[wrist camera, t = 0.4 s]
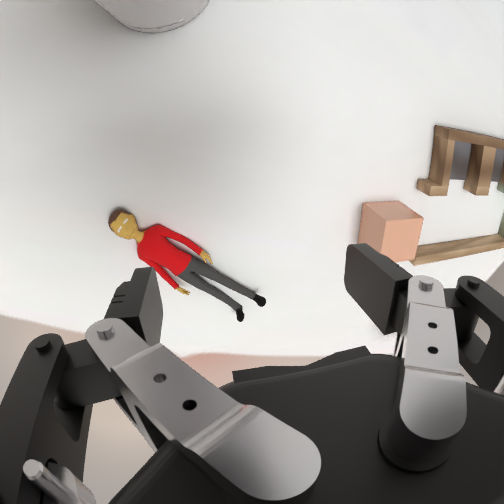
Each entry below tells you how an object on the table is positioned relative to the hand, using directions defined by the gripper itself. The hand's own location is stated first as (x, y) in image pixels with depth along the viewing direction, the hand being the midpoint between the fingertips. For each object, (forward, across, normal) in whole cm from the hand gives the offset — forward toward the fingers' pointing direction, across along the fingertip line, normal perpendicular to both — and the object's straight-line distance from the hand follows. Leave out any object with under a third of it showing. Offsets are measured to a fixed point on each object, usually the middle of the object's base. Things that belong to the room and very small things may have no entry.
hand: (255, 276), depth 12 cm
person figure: (+19, +4, +7) cm, 21 cm away
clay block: (+18, -18, +5) cm, 26 cm away
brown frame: (+18, -34, +1) cm, 39 cm away
